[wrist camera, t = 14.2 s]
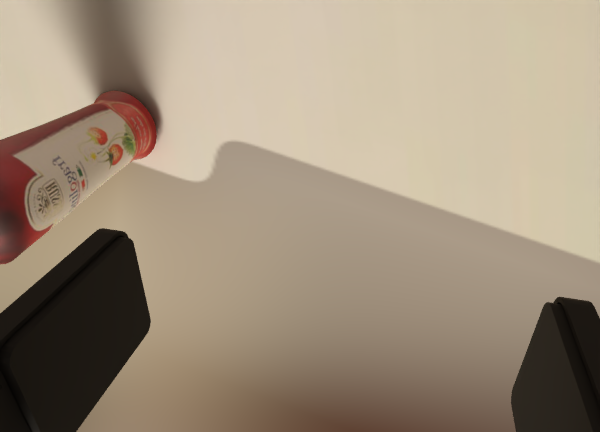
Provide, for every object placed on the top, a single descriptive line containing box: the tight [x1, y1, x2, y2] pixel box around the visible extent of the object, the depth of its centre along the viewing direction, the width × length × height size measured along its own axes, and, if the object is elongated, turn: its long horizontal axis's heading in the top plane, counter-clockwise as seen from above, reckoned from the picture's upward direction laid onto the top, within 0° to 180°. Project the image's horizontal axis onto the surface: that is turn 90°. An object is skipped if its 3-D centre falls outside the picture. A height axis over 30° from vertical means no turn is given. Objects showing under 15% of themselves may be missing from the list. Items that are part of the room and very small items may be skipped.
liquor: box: [0, 91, 157, 264], centre depth 33 cm, size 7×7×28 cm
